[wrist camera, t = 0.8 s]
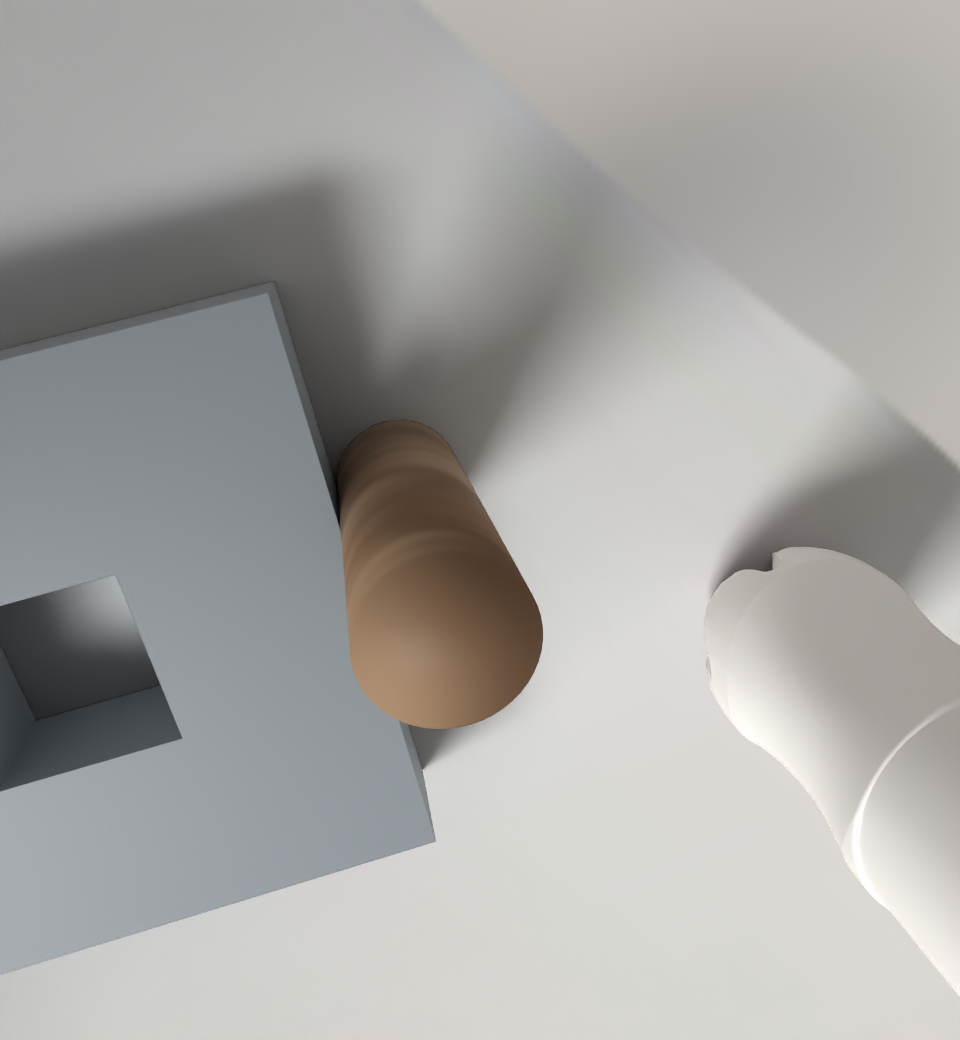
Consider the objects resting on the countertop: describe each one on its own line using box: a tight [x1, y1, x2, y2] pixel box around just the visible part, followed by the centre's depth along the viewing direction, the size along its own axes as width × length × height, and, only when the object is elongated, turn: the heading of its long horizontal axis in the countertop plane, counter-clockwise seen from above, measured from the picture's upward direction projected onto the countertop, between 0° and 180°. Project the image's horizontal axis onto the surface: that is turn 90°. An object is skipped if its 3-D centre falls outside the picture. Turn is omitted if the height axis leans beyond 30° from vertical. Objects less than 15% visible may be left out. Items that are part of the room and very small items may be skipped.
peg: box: [337, 420, 543, 729], centre depth 24 cm, size 4×4×12 cm
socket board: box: [0, 281, 436, 975], centre depth 28 cm, size 18×18×4 cm
